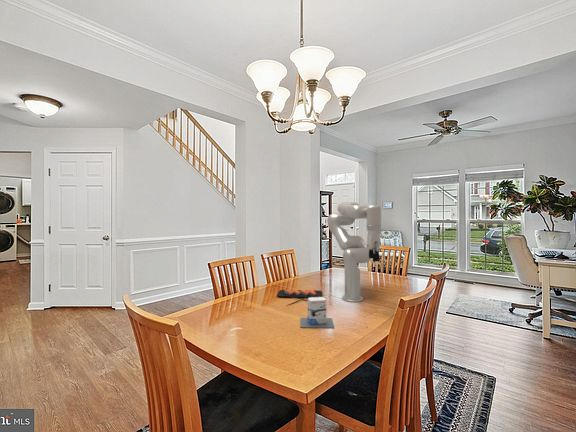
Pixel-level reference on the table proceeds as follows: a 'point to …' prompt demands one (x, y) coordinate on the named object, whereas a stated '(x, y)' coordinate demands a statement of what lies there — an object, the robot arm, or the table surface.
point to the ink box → (316, 310)
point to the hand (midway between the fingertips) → (373, 259)
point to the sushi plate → (299, 294)
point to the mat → (306, 324)
